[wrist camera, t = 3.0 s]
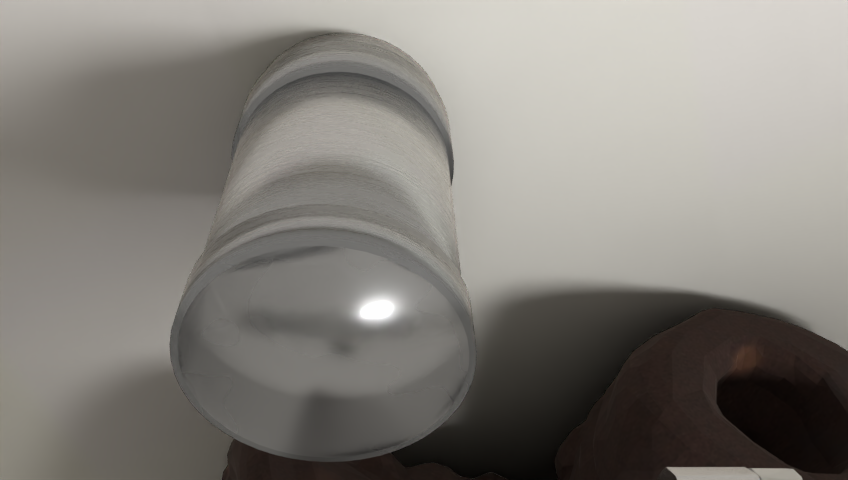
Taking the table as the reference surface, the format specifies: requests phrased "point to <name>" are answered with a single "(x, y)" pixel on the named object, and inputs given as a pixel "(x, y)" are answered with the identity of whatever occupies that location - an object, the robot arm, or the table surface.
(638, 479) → the pipe
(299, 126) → the container
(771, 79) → the table surface
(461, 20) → the table surface
